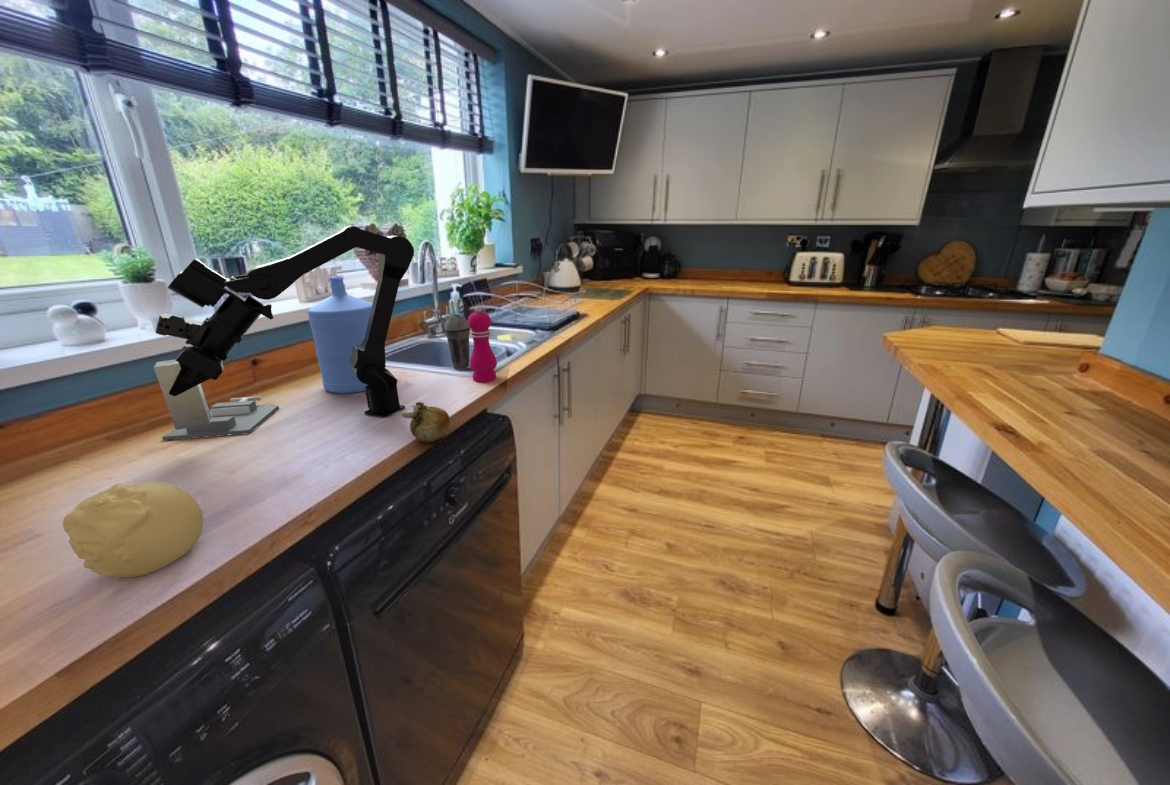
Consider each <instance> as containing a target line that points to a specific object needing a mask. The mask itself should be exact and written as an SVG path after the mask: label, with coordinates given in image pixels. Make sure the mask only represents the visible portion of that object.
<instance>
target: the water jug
mask: <svg viewBox="0 0 1170 785" xmlns="http://www.w3.org/2000/svg"><path fill="white" fill-rule="evenodd" d="M328 280H329V282H330V289H331V295H330V296H328V297H327V298H325V299H322V300H321V301H319V302H318V303H316V304H315V305H313V306H311V307H310V308H308V310H307V315H308V323H309V326H310V329H311V334H312V338H313V342H314V347H315V355H316V358H317V360H318V364H319V365H318V366H319V369H320V374H321V381H322V385H323V388H324V389H325V390H326V391H328V392H330V393H334V394H351V393H352V394H353V393H361V392H366V388H365V386H367V384H364V383H362V382H361V381H360V380H359V379H358V378H357V376H356V375H355V373H354V372H353V370H352V367H351V366H352V365H351V364H350V362H349V359H350V358H351V356H352V350H353V344H355V345H358V346H360V345H361V343H362V341H363V340H364V338H365V334H366V330H367V326H368V321H369V317H370V313H371V309H372V304H373V302H370V301H367V300H364V299H362V298H359V297H355V296H353V295H351V294H349V293H348V292H347V291H346V288H345V287H346V285H345V283H344V277H343V276H342V277H341V276H340V277H339V276H338V277H337V276H336V277H329V278H328Z"/></svg>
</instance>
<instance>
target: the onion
mask: <svg viewBox="0 0 1170 785" xmlns="http://www.w3.org/2000/svg"><path fill="white" fill-rule="evenodd" d="M412 408H413V410H412V411H401V412H400V415H401V416H400V417H402V418H405V419H411V420H410V422H409V430H410V432H411V434H412V436H413V437H414V438H415V439H416V440H417V441H419V442H422V443H433V442H436V441H438V440H440V439H441V438H443V437H444V436H445V435H446V434H447V432H449V431H448V430H449V429H450V424H451V418H450V415H449V414H448V412H447V411H446V410H445V409H443V408H441V407H437V406H432V405H431V406H427V405H425V403H424V402H422V401H418V402H415V405H412Z"/></svg>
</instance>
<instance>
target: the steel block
mask: <svg viewBox="0 0 1170 785" xmlns="http://www.w3.org/2000/svg"><path fill="white" fill-rule="evenodd" d="M153 369H154V372H155V375H156V378H157V380H158V383H159V386H160V389H161V392H162V395H163V398H164V401H165V403H166V407H167V408H168V412H169V414H170V417H171V420H172V422H173V426H174V429H176V430H179V429H184V428H189V427H194V426H199V425H204V424H209V423H210V421H211V414H210V411H209V410H210V409H209V405H208V403H207V400H206V399H207V398H206V397H205V393H204V391H203V387H202V383H201V384H199V385H197V386H195V387H193V388H191V389H189V390H187V391H185V392H183V393H181V394H179V395H177V396H172V395H170V394H169V392H170V390H171V388H172V386H173V384H174V382H175V380H176V378H177V376H178V374H179V372H180V370H181V367H180V365H179V363H178V362H177V361H176V359H171V360H170V359H169V360H163V361H161V360H160V361H157V362H156V363H155V365H154V366H153Z"/></svg>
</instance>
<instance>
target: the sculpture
mask: <svg viewBox="0 0 1170 785" xmlns="http://www.w3.org/2000/svg"><path fill="white" fill-rule="evenodd" d="M62 526H63V530H64V532H66V533H67V535H68V536H69V539H68V544H69V545H70V547H71V549H72V551H73V552H74V554H75V555H76V556H77V557H78V558H79V559H81V560H84V562H83V567H84V568H85V569H89V570H90V571H91V572H93V573H96V574H97V575H101V576H105V577H106V578H113V579H114V578H137V577H141V575H142V576H145V574H146V575H148V573H149V574H151V572H152V573H153V572H157V571H158V570H159V571H160V570H161V569H162V568H165V567H167V566H169V565H170V564H172V563H173V562H175V561H177V560H178V559H179V558H181V557H183V555H185V554H186V553H188V552H189V551H190V550H191V549H192V548H193V547H194V546H195V544H197V542H198V541H199V539H200V536H201V534H202V531H203V527H204V517H203V512H202V508H201V507H200V504H199V502H198V501H197V500H196V498H195V497H193V495H191V493H190V492H189V491H187V490H186V489H184V488H182V487H181V486H178V485H177V484H174V483H173V484H172V483H169V482H164V481H143V482H136V483H132V484H120V483H116V484H113V485H112V486H111V487H109V488H107V489H105V490H101V491H100V492H98V493H96V494H94V495H92V496H89V497H87V498H85V499H83V500H81V502H79V503H78V504H77V505H76V506H75V508H73V510H72V511H70V512H68V513H67V514H65V516H64V517H63V520H62ZM136 576H137V577H136Z"/></svg>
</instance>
